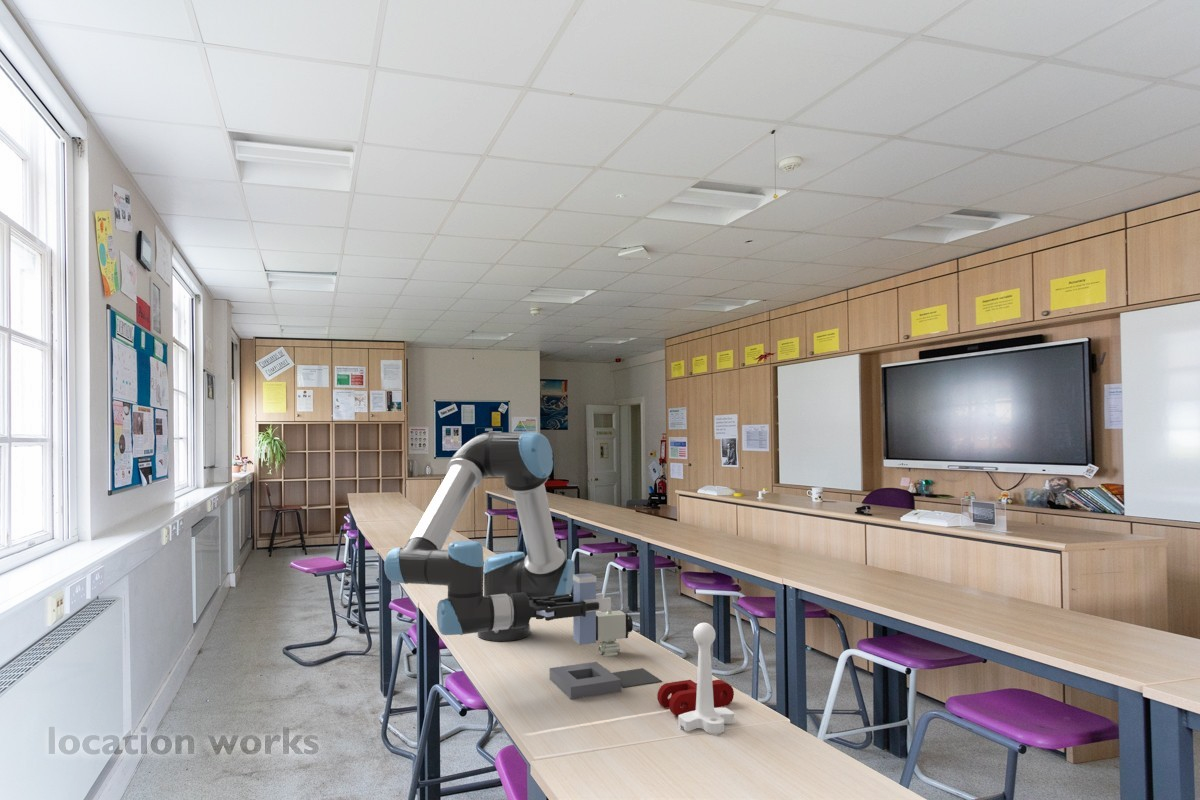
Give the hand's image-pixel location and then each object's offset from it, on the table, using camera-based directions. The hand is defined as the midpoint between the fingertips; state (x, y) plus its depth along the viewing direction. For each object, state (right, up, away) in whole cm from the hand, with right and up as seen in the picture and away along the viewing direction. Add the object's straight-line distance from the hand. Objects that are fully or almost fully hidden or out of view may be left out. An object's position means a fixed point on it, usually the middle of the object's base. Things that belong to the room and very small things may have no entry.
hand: (605, 601), depth 167 cm
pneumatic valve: (+1, -20, +21) cm, 29 cm away
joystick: (+20, -18, -26) cm, 37 cm away
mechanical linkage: (+19, -18, -16) cm, 31 cm away
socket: (-5, -19, -3) cm, 20 cm away
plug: (-5, -8, -3) cm, 10 cm away
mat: (+6, -19, +2) cm, 20 cm away
